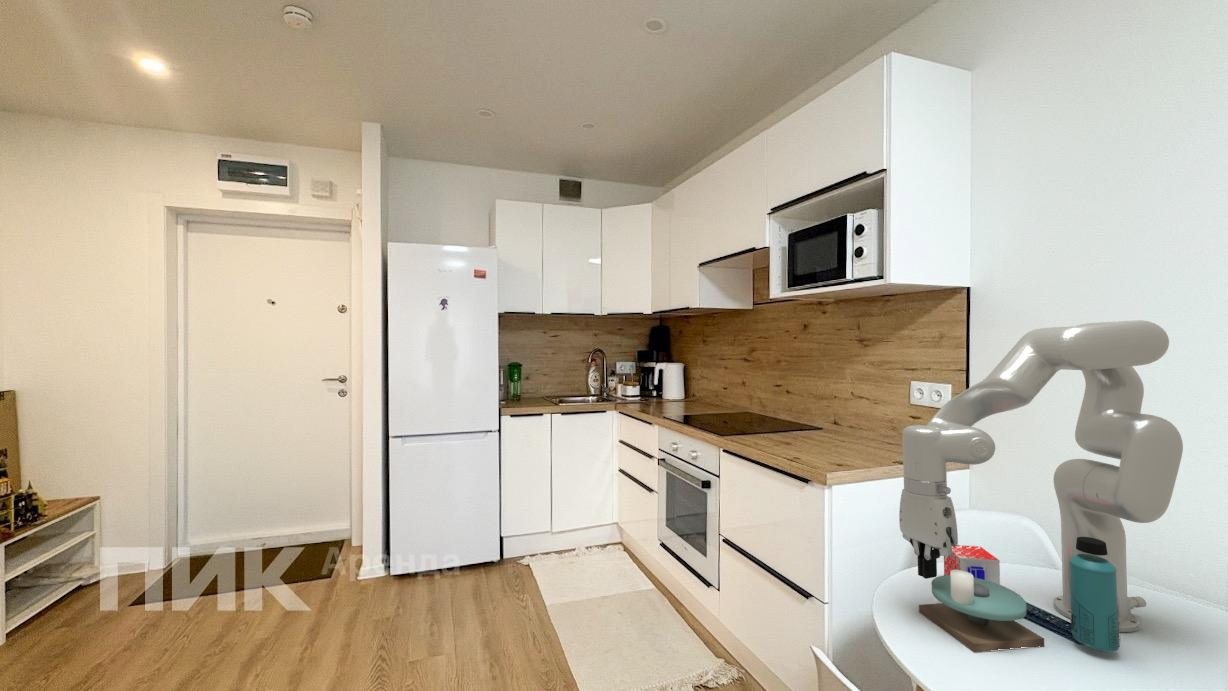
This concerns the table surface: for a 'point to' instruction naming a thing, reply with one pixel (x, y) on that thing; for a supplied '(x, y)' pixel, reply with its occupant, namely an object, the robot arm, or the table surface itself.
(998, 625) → the stand
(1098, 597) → the beverage bottle
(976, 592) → the handwheel
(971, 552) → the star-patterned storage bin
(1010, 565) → the table surface
